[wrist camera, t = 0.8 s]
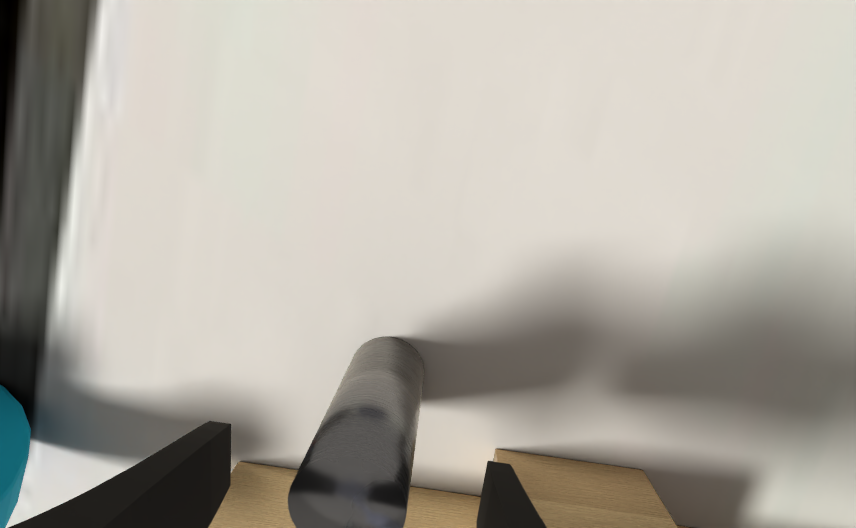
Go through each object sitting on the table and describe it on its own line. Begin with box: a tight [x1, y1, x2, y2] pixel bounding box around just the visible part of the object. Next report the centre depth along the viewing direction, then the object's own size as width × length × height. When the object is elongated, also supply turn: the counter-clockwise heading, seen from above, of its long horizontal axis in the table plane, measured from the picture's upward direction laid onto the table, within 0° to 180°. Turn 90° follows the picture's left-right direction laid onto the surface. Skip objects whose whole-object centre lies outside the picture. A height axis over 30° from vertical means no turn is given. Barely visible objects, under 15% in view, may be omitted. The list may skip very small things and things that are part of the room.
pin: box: [288, 337, 424, 528], centre depth 14 cm, size 3×3×7 cm
